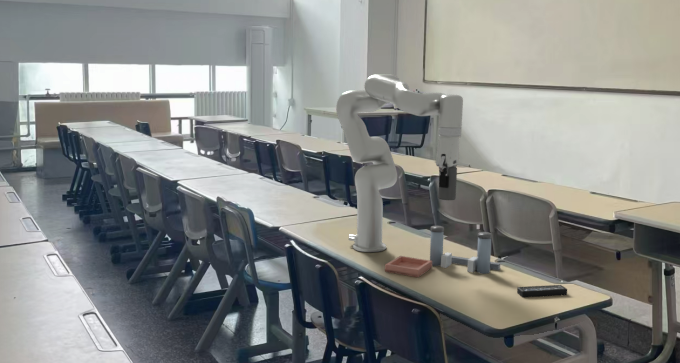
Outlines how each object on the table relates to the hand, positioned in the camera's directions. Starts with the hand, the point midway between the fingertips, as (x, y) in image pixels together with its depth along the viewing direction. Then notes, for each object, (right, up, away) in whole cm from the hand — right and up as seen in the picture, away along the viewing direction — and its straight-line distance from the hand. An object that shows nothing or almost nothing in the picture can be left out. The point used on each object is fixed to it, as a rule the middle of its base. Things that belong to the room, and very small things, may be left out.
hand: (447, 185), depth 229 cm
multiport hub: (+26, -34, -20) cm, 47 cm away
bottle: (0, -5, +1) cm, 5 cm away
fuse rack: (+6, -28, +7) cm, 30 cm away
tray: (-13, -29, +3) cm, 32 cm away
